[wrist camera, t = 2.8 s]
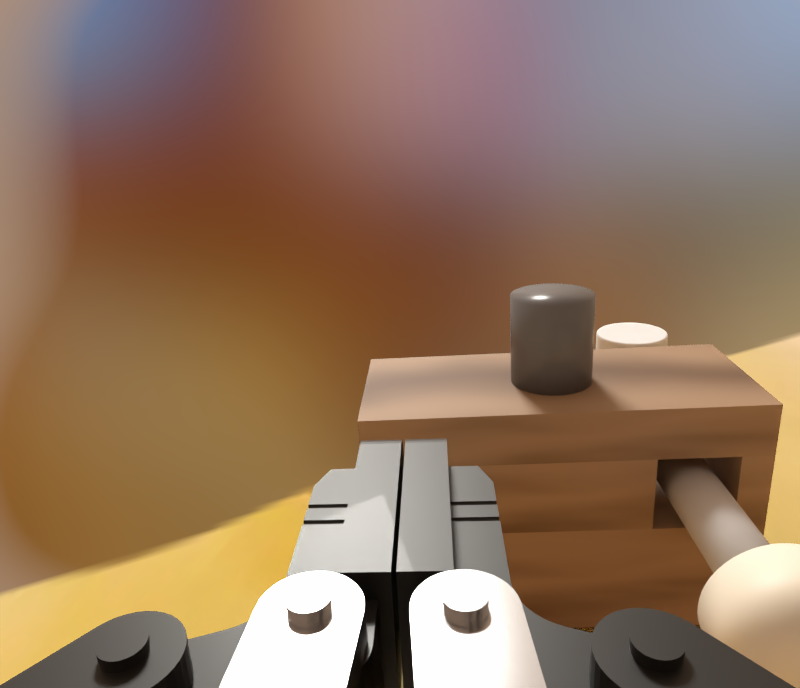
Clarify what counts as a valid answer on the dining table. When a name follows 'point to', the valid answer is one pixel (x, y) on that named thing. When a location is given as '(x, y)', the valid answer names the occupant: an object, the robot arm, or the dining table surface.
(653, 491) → the brown wooden block
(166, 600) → the dining table surface
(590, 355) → the dark grey cylinder
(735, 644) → the knob cream
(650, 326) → the supplement bottle
